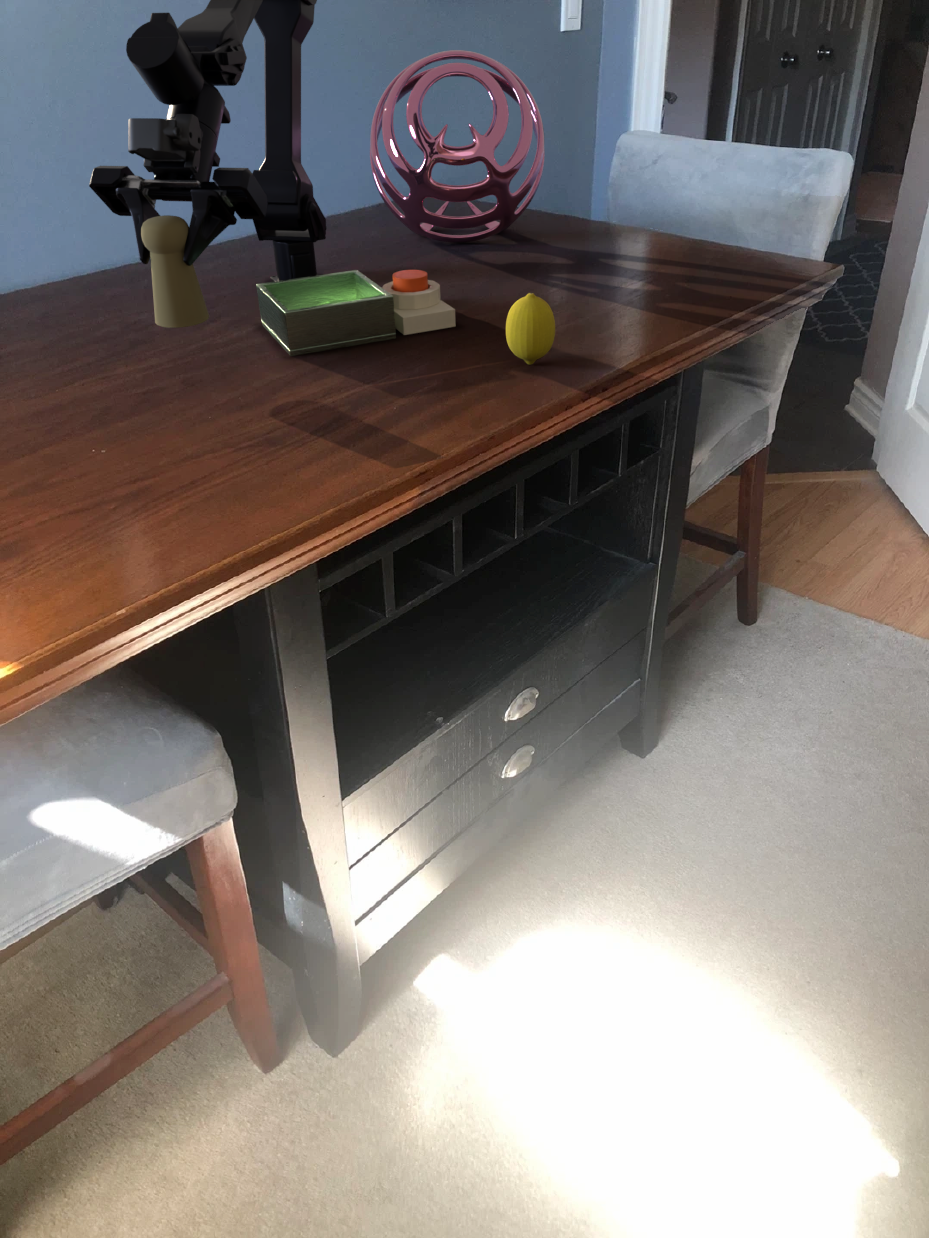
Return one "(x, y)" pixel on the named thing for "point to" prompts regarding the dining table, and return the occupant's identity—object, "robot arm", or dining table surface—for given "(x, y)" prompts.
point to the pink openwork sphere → (457, 150)
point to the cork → (172, 274)
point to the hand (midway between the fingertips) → (164, 263)
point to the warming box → (326, 312)
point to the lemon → (530, 328)
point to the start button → (410, 281)
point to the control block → (420, 310)
